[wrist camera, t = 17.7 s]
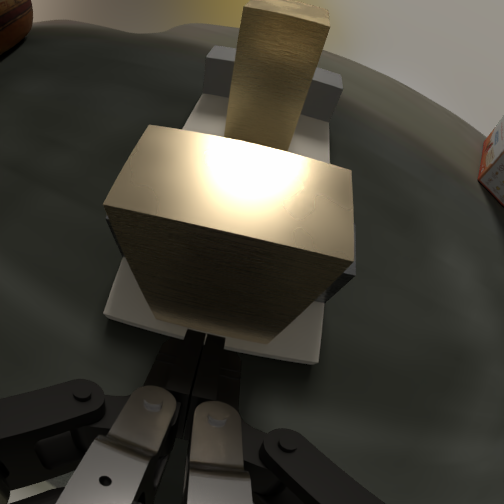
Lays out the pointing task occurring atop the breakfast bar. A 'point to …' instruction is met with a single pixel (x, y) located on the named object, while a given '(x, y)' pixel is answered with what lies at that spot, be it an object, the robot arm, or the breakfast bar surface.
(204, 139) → the sliding jaw
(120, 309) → the vise
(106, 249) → the breakfast bar surface
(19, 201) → the breakfast bar surface
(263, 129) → the brass block
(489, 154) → the cracker box
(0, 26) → the brown vase
